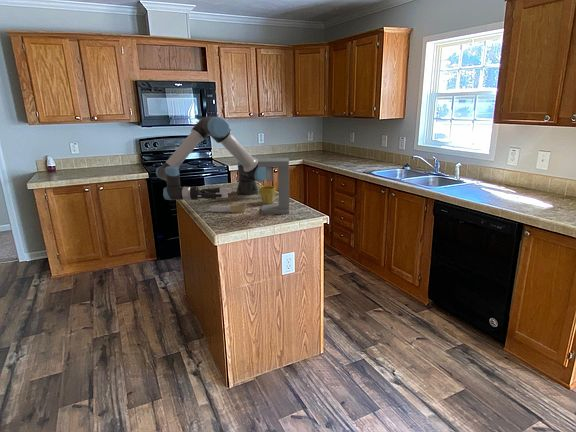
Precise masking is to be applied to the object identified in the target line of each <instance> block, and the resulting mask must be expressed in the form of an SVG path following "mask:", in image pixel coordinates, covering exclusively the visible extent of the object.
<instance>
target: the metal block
mask: <svg viewBox="0 0 576 432" xmlns="http://www.w3.org/2000/svg"><path fill="white" fill-rule="evenodd" d="M209 209H210V213H230V214H231V213H232V214H233V213H240V214H241V213H243V214H244V213H245V211H246V202H245V203H244V202H243V203H242V202H241V203H239V202H237V203H234V202H232V203H231V204H230V205H210V207H209Z"/></svg>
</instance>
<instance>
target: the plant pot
mask: <svg viewBox="0 0 576 432" xmlns="http://www.w3.org/2000/svg"><path fill="white" fill-rule="evenodd" d="M258 193H259V194H260V197H261V201H262V204H263V205H271V204H273V203H274V198H275V194H276V186H272V185H263V186H258Z"/></svg>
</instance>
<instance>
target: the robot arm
mask: <svg viewBox="0 0 576 432" xmlns="http://www.w3.org/2000/svg"><path fill="white" fill-rule="evenodd" d="M190 131H191V132H190V133H189V134H188V136H186V138H185V139H184V140H183V141H182V142H181V143H180V145H179V146H178V147H177V148H176V150H175V151H174V152H173V153H172V154H171V155H170V156H169V157H168V159H167V160H166V161H165V162H164V163H163V165H160V166H158V167H157V168H156V170H155V175H156V176H157V178H159V180H164V181H165V182H166V187H164V188H163V193H162V195H163V198H164V200H167V201H181V200H183V201H197V200H199V199H208V200H209V199H210V200H217V199H221V198H222V199H223V198H224V199H225V198H229V195H228V194H231V193H232V191H231V189H232V188H228V187H227V188H221V187H219V186H218V187H211V188H209V187H208V188H202V189H199V187H198V186H181V176H180V168H179V167H180V166H181V165H182V164H183V162H184V161H185V160H186V159H187V158H188V156H189V155H190V154H191V153H192V152H193V151H194V150H195V149H196V147H197V146H199V144H200V142H203V141H205V139H206V138H207V137H211V138H212V139H213V140H214V141H215V142H216V143H217V144H221V145H222V146H223V147H224V148H225V149H226V150H227V151H228V152H229V154H231V155H232V157H234V158H235V160H237V173H238V183H237V187H236V194H238V195H244V196H246V195H247V196H251V195H256V194H258V193H259V187H258V185H257V183H258V182H260V183H261V182H265V181H266V167H258V160H259V159H258V158H257V157H254V156H252V154H250V153H249V151H248V150H247V149H246V148H245V147H244V146H243V144H241V142H240V141H238V140H237V138H236V137H235V136H234V135H233V134H232V129H231V128H230V124H229V123H228V121H227V120H226V119H225V118H223V117H222V116H221V117H220V116H209V115H208V116H203V118H200V120H198V121H197V123H195V125H193V127H192V128H191V129H190Z"/></svg>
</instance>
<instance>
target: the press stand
mask: <svg viewBox="0 0 576 432" xmlns="http://www.w3.org/2000/svg"><path fill="white" fill-rule="evenodd" d="M258 167H266V180H265V181H266V182H274V167H275V168H277V178H278V179H277V180H278V181H277V183H278V184H277V186H278V188H277V190H278V204H262V207H261V210H260V212H261V213H260V214H261V215H266V214H267V215H269V214H270V215H271V214H273V215H275V214H276V215H277V214H280V215H281V214H283V215H286V214H290V158H289V157H277V158H276V157H270V158H269V157H268V158H265V157H264V158H259V159H258Z"/></svg>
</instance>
